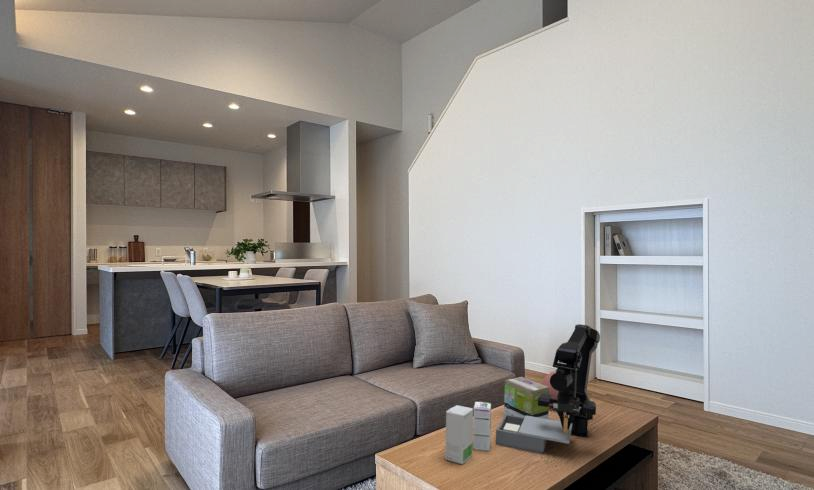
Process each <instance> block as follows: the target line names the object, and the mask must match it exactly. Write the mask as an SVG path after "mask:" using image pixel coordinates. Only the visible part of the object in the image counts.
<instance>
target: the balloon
mask: <svg viewBox="0 0 814 490" xmlns="http://www.w3.org/2000/svg"><path fill="white" fill-rule="evenodd" d="M554 373H556V370H555V371H551V372H550V373H548V374H546V375H545V376H544V377H543V379H542V381H541V384H542V385H545V386H548V387H549V395H551V398H553V399H557V395H558V391H557V390H555V389H554V388H553V387H552V386H551V384H550V378H551V376H552V375H553V374H554ZM549 406H551V407H552V408H553V407H554V406H553V404H549Z"/></svg>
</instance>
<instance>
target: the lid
mask: <svg viewBox="0 0 814 490" xmlns="http://www.w3.org/2000/svg"><path fill="white" fill-rule="evenodd" d="M568 418H569V415H566V414H564V428H562V424H561V421H560V420H554V419H549V418H548V419H544V418H538V417H532V416H525V418H524V420H523V423H522V425H521V427H520V429H519V432H518V434H520V435H525V436H530V437H535V438H541V439H546V440H547V441H552V442H557V443H563V444H567V445H570V442H571V441H570V440H571V435H572V434H571V430H572V423H571V425H570V427H569V429H567V428H568Z"/></svg>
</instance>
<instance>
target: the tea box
mask: <svg viewBox="0 0 814 490" xmlns="http://www.w3.org/2000/svg"><path fill="white" fill-rule="evenodd" d="M541 393H542V394H548V395H549V387H548V386H545V385H542V383H540V382H537V381H534V380H532V379H528V378H527V377H523V376H518V377H515V378H514V377H513V378H509V379H505V380H504V396H503V397H504V398H503V399H504V400H503V401H504V402H503V406H504V407H503V414H504V415H505V414H506V415H512V416H517V417H523V418H525V416H532V417H538V418H544V419H549V412H550V411H549V409H550V407H549V406H550V405H549V406H547V407H543V406H539V405H538V397H539V395H540V394H541Z"/></svg>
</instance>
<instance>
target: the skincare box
mask: <svg viewBox="0 0 814 490" xmlns="http://www.w3.org/2000/svg"><path fill="white" fill-rule="evenodd" d="M445 413H446V414H445V446H444V447H445V449H444V450H445V453H444V455H445V456H444V457H445V458H444V459H445V460H446V461H450V462H453V463H456V464H458V465H464V463H466V462H468V460H469V459H470V458H471V457H472V456H473V427H474V407H467V406H463V405H458V404H456V405H455V406H453V407H450V408H449V409H448V410H446V411H445Z"/></svg>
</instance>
